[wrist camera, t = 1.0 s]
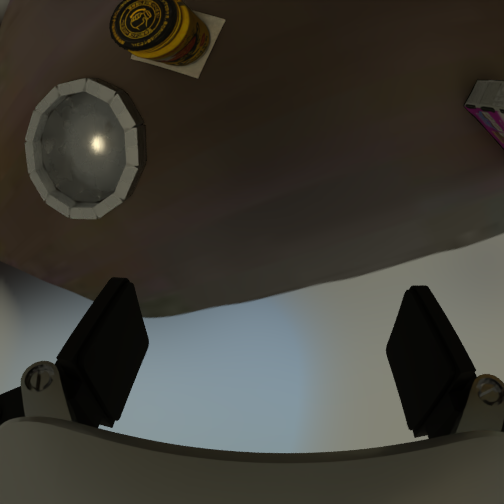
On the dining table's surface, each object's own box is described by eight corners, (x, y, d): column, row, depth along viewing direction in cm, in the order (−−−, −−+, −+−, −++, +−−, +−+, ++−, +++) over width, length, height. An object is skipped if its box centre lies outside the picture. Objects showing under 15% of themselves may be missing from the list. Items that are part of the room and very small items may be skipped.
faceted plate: (33, 93, 28) (22, 95, 26) (144, 70, 28) (136, 69, 26) (46, 211, 37) (36, 218, 34) (150, 212, 36) (143, 220, 34)
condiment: (198, 78, 28) (160, 70, 18) (131, 58, 27) (70, 48, 17) (226, 20, 25) (202, -18, 15) (156, 2, 24) (106, -31, 13)
